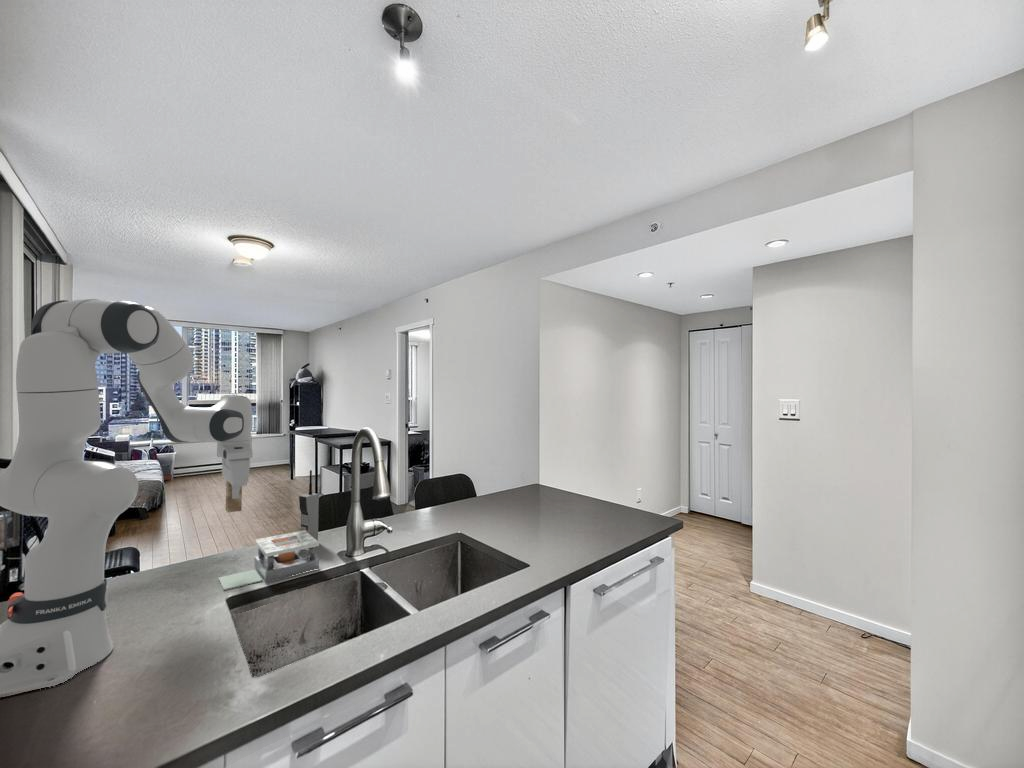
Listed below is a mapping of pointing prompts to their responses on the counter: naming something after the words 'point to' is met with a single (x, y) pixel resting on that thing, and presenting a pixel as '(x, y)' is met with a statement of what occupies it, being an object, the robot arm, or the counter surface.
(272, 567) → the grey box with top
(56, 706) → the counter surface
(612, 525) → the counter surface
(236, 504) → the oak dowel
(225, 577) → the sage mat
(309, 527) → the vintage mobile phone
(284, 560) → the breaker button
